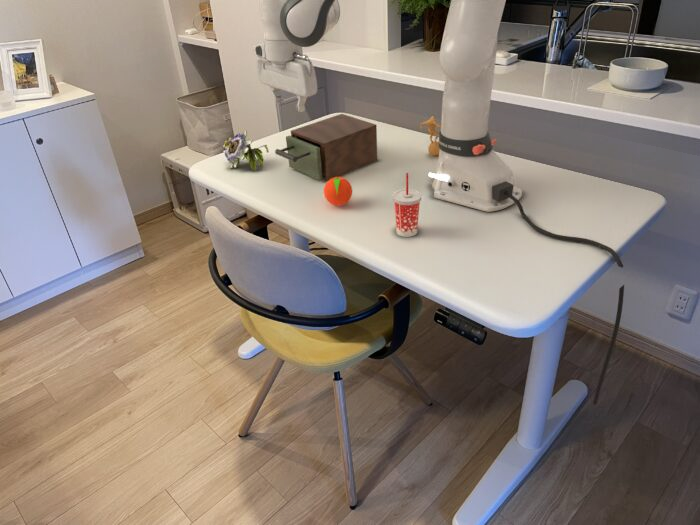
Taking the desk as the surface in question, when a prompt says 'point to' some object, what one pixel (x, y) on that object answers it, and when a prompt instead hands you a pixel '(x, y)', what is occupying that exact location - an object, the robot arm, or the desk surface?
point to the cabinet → (342, 143)
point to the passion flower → (242, 151)
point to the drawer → (304, 156)
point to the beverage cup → (407, 210)
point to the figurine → (431, 125)
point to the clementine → (338, 191)
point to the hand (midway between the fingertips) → (289, 107)
